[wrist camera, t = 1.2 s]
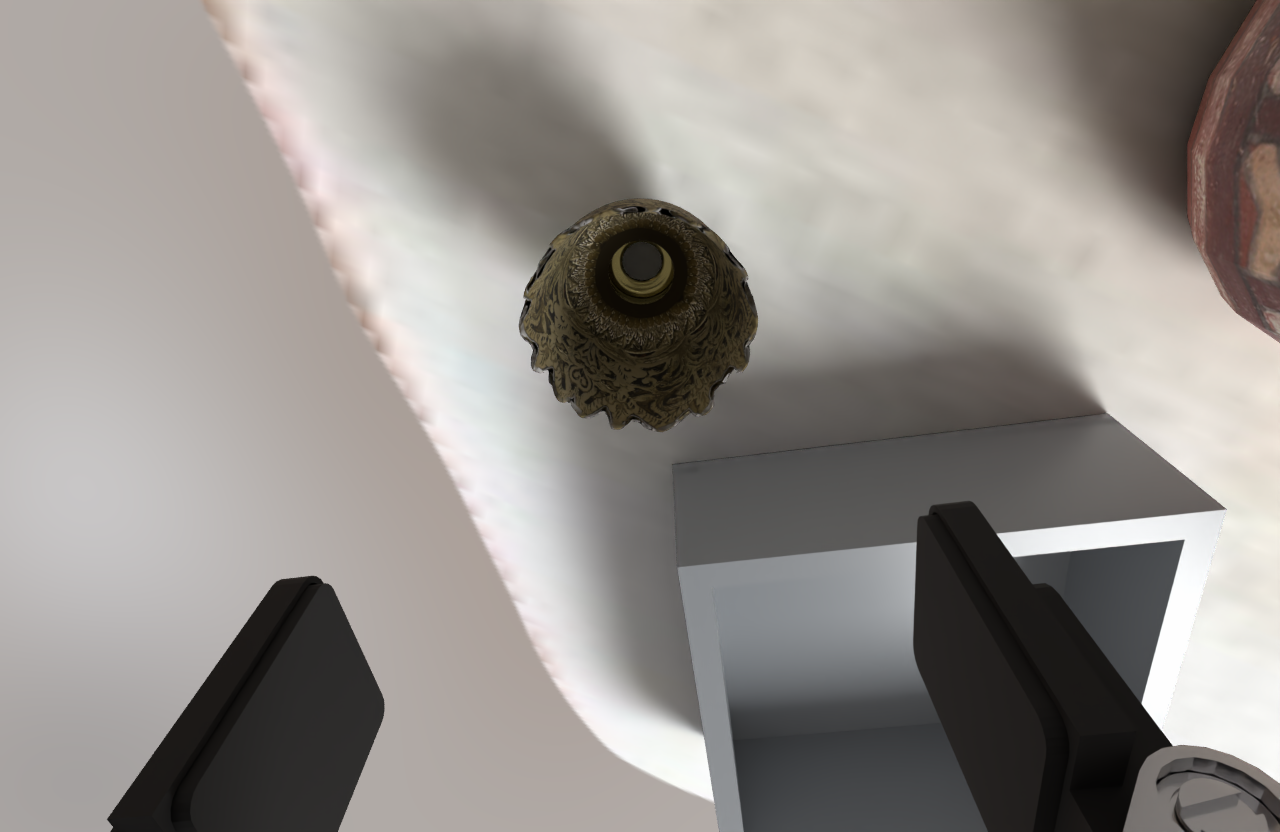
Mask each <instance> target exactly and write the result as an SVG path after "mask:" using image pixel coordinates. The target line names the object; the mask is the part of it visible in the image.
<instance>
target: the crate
mask: <svg viewBox="0 0 1280 832" xmlns="http://www.w3.org/2000/svg"><path fill="white" fill-rule="evenodd" d="M673 486H674V508H675V530H676V551H677V569H678V575H679V582H680V588H681V594H682V601H683V607H684V613H685V620H686V626H687V632H688V638H689V645H690V651H691V657H692V664H693V670H694V676H695V683H696V689H697V695H698V702H699V708H700V714H701V720H702V727H703V733H704V739H705V746H706V752H707V758H708V765H709V771H710V777H711V784H712V790H713V796H714V802H715V809H716V815H717V821H718V828H719V832H988V831H987V828H986V826H985V824H984V821H983V819H982V817H981V814H980V812H979V810H978V807H977V805H976V803H975V800H974V798H973V796H972V793H971V791H970V789H969V787H968V784H967V782H966V780H965V777H964V775H963V773H962V770H961V768H960V766H959V763H958V761H957V759H956V756H955V754H954V752H953V749H952V747H951V745H950V742H949V740H948V738H947V735H946V733H945V731H944V728H943V726H942V724H941V721H940V719H939V717H938V714H937V712H936V710H935V707H934V705H933V703H932V700H931V698H930V696H929V693H928V691H927V689H926V686H925V684H924V682H923V679H922V677H921V675H920V672H919V670H918V667H917V664H916V661H915V656H914V650H913V629H914V600H915V572H916V544H917V522H918V518H919V517H920V516H925V515H929V509H930V507H931V506H932V505H936V504H945V503H953V502H962V501H972V502H973V503H974V504H975V505H976V506H977V507H978V509H979V510H980V511H981V513H982V514H983V516H984V517H985V518H986V520H987V521H988V523H989V524H990V525H991V527H992V528H993V530H994V531H995V532H996V534H997V535H998V537H999V538H1000V539H1001V541H1002V542H1003V544H1004V545H1005V547H1006V548H1007V549H1008V551H1009V552H1010V554H1011V555H1012V556H1013V558H1014V559H1015V561H1016V562H1017V563H1018V565H1019V566H1020V568H1021V569H1022V570H1023V572H1024V573H1025V575H1026V576H1027V577H1028V579H1029V580H1030V582H1031V583H1032V584H1040V583H1046V584H1048V585H1050V586H1052V587H1053V588H1054V589H1055V590H1056V591H1057V592H1058V593H1059V594H1060V596H1061V597H1062V598H1063V600H1064V601H1065V602H1066V604H1067V605H1068V606H1069V608H1070V609H1071V610H1072V612H1073V613H1074V614H1075V616H1076V617H1077V618H1078V620H1079V621H1080V622H1081V624H1082V625H1083V626H1084V628H1085V629H1086V630H1087V632H1088V633H1089V634H1090V636H1091V637H1092V639H1093V640H1094V641H1095V643H1096V644H1097V645H1098V647H1099V648H1100V649H1101V651H1102V652H1103V653H1104V655H1105V656H1106V657H1107V659H1108V660H1109V661H1110V663H1111V664H1112V665H1113V667H1114V668H1115V669H1116V671H1117V672H1118V673H1119V675H1120V676H1121V677H1122V679H1123V680H1124V681H1125V683H1126V684H1127V685H1128V687H1129V688H1130V689H1131V691H1132V692H1133V693H1134V695H1135V696H1136V697H1137V699H1138V700H1139V701H1140V703H1141V704H1142V705H1143V707H1144V708H1145V709H1146V711H1147V712H1148V713H1149V715H1150V716H1151V717H1152V719H1153V720H1154V721H1155V723H1156V724H1157V725H1158V727H1159V728H1160V730H1161V731H1162V730H1163V727H1164V723H1165V720H1166V717H1167V713H1168V710H1169V706H1170V703H1171V699H1172V696H1173V693H1174V689H1175V686H1176V682H1177V679H1178V675H1179V672H1180V669H1181V665H1182V662H1183V658H1184V655H1185V651H1186V648H1187V645H1188V641H1189V638H1190V634H1191V631H1192V627H1193V624H1194V621H1195V617H1196V614H1197V610H1198V607H1199V603H1200V600H1201V597H1202V593H1203V590H1204V586H1205V583H1206V579H1207V576H1208V573H1209V569H1210V566H1211V562H1212V559H1213V555H1214V552H1215V549H1216V545H1217V542H1218V538H1219V535H1220V531H1221V528H1222V525H1223V521H1224V518H1225V514H1226V511H1227V509H1226V508H1224V507H1223V506H1222V505H1221V504H1220V503H1218V502H1217V501H1216V500H1215V499H1213V498H1212V497H1211V496H1210V495H1208V494H1207V493H1206V492H1205V491H1203V490H1202V489H1201V488H1200V487H1198V486H1197V485H1196V484H1195V483H1193V482H1192V481H1191V480H1190V479H1189V478H1187V477H1186V476H1185V475H1184V474H1182V473H1181V472H1180V471H1179V470H1177V469H1176V468H1175V467H1174V466H1172V465H1171V464H1170V463H1169V462H1167V461H1166V460H1165V459H1164V458H1162V457H1161V456H1160V455H1159V454H1158V453H1156V452H1155V451H1154V450H1153V449H1151V448H1150V447H1149V446H1148V445H1146V444H1145V443H1144V442H1143V441H1141V440H1140V439H1139V438H1138V437H1136V436H1135V435H1134V434H1133V433H1131V432H1130V431H1129V430H1128V429H1127V428H1125V427H1124V426H1123V425H1122V424H1120V423H1119V422H1118V421H1117V420H1115V419H1114V418H1113V417H1112V416H1110V415H1109V414H1108V413H1106V414H1098V415H1090V416H1081V417H1073V418H1064V419H1056V420H1047V421H1039V422H1030V423H1022V424H1013V425H1005V426H996V427H988V428H979V429H971V430H962V431H954V432H945V433H937V434H928V435H920V436H911V437H903V438H894V439H886V440H877V441H869V442H860V443H852V444H843V445H835V446H826V447H818V448H809V449H801V450H792V451H784V452H775V453H767V454H758V455H750V456H742V457H733V458H725V459H716V460H708V461H699V462H691V463H682V464H674V465H673Z"/></svg>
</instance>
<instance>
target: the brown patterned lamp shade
mask: <svg viewBox="0 0 1280 832" xmlns="http://www.w3.org/2000/svg"><path fill="white" fill-rule="evenodd" d="M638 242H646V243H649V244H651V245H653V246H654V247H656V248H657V250H658V251H659V253H660V255H661V259H662V265H661V268H660V271H659V272H658V274H657V275H656V276H655V277H653V278H652V279H650V280H647V281H638V280H635V279H632V278H631V277H629V276H628V275H627V273H626V272H625V270H624V268H623V264H622V259H623V255H624V252H625V251H626V249H627V248H628V247H629V246H631V245H632V244H634V243H638ZM549 247H550V248H549V249H548V251H547V252H546V254H545V255H544V257H543V258H542V259H541V260H540V262H539V264H538V268H537V270H536V272H535V274H534V275H533V276H532V277H531V279H530V281H529V283H528V284H527V286H526V289H525V291H524V299H526V301H525V304H524V307H523V310H522V313H521V317H520V320H519V330H520V335H521V336H522V338H523V339H524V340H525V341H526V342H529V344H530V345H531V347H532V348H533V353H532V356H531V367H532V369H533V371H535V372H538V373H542V372H543V371H546V370H548V371H549V383H550V384H551V385H552V388H553V391H554V394H555V396H556V398H557V400H558V401H560V402H562V403H565V402H568V403H570V401H571V405H572V407H573V409H574V410H575V411H576V413H577V414H578V415H579V416H580V417H581V418H591V417H594V416H596V415H598V414H600V413H601V412H602V411H605V412H606V413H605V414H606V415H607V416H608V419H609V423H610V426H611V428H612V429H616V430H618V429H622V428H623V427H625V425H627V424H628V423H629V422H630V420H632V421H634V422H639V423H640V424H642V425H643V426H644V427H645V428H647V429H650V430H653V431H657V432H664V431H667V430H669V429H671V428H672V427H674V426H676V425H677V424H678V423H680V422H681V421H682V420H683V419H684V418H685V417H686V416H688V415H689V414H691V413H692V414H693V415H694V416H703V415H706V414H707V413H708V412H709V411H710V410H711V409H712V408H713V406H714V401H713V400H714V391H715V390H716V389H717V388H718V387H719V386H720V385H721V384H724V383H726V382H727V379H728V377H729V375H730V373H731V372H732V371H733V370H734V369H735V370H738V371H737V373H739V372H740V373H742V372H743V371H744V369H745V368H746V367H747V365H748V362H749V357H750V349H749V345H750V343H751V342H752V341H753V339H754V337H755V335H756V331H757V326H758V316H757V310H756V306H755V303H754V299H753V296H752V294H751V292H750V289H749V287H748V284H747V281H746V280H747V279H748V275H747V273H746V270H745V269H744V267H743V266H742V264H741V263H740V262H739V261H738V260H737V259H736V258H735V257H734V256H733V254H732V253H731V252H730V249H729V248H728V246H727V245H726V244H725V243H724V241H723V240H722V239H721V238H720V237H719V236H718V235H717V234H716V233H715V232H713V231H712V230H711V229H710V228H708V227H707V226H706V225H705V224H704V223H703V222H702V221H701V220H699V219H698V218H696V217H695V216H694V215H692V214H691V213H689V212H687V211H686V210H684V209H682V208H680V207H678V206H675V205H673V204H670V203H667V202H663V201H659V200H653V199H627V200H622V201H617V202H613V203H610V204H607V205H605V206H603V207H600V208H598V209H596V210H594V211H593V212H591V213H589V214H588V215H586V216H584V217H583V218H582V219H580V220H579V221H578V222H576V223H575V224H574V225H573V226H571V227H570V228H568V229H567V230H565V231H563V232H562V233H561V234H559V235H558V236H557V237H556V238H555V239H554V240H553V241H552V242H551V243H550V245H549ZM543 373H544V372H543Z"/></svg>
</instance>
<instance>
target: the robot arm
mask: <svg viewBox="0 0 1280 832" xmlns="http://www.w3.org/2000/svg"><path fill="white" fill-rule="evenodd" d="M913 650H914V656H915V661H916V664H917V667H918V670H919V672H920V675H921V677H922V679H923V682H924V684H925V686H926V689H927V691H928V693H929V696H930V698H931V700H932V703H933V705H934V707H935V710H936V712H937V714H938V717H939V719H940V721H941V724H942V726H943V728H944V731H945V733H946V735H947V738H948V740H949V742H950V745H951V747H952V749H953V752H954V754H955V756H956V759H957V761H958V763H959V766H960V768H961V770H962V773H963V775H964V777H965V780H966V782H967V784H968V787H969V789H970V791H971V793H972V796H973V798H974V800H975V803H976V805H977V807H978V810H979V812H980V814H981V817H982V819H983V821H984V824H985V826H986V828H987V831H988V832H1280V783H1278V782H1277V781H1275V780H1274V779H1273V778H1271V777H1270V776H1268V775H1267V774H1266V773H1264V772H1263V771H1261V770H1260V769H1259V768H1257V767H1255V766H1253V765H1251V764H1249V763H1247V762H1245V761H1243V760H1241V759H1239V758H1237V757H1235V756H1233V755H1230V754H1227V753H1223V752H1220V751H1217V750H1213V749H1210V748H1207V747H1198V746H1188V745H1178V746H1172V744H1171V743H1170V742H1169V740H1168V739H1167V738H1166V736H1165V735H1164V734H1163V732H1162V731H1161V730H1160V728H1159V727H1158V725H1157V724H1156V723H1155V721H1154V720H1153V719H1152V717H1151V716H1150V715H1149V713H1148V712H1147V711H1146V709H1145V708H1144V707H1143V705H1142V704H1141V703H1140V701H1139V700H1138V699H1137V697H1136V696H1135V695H1134V693H1133V692H1132V691H1131V689H1130V688H1129V687H1128V685H1127V684H1126V683H1125V681H1124V680H1123V679H1122V677H1121V676H1120V675H1119V673H1118V672H1117V671H1116V669H1115V668H1114V667H1113V665H1112V664H1111V663H1110V661H1109V660H1108V659H1107V657H1106V656H1105V655H1104V653H1103V652H1102V651H1101V649H1100V648H1099V647H1098V645H1097V644H1096V643H1095V641H1094V640H1093V639H1092V637H1091V636H1090V634H1089V633H1088V632H1087V630H1086V629H1085V628H1084V626H1083V625H1082V624H1081V622H1080V621H1079V620H1078V618H1077V617H1076V616H1075V614H1074V613H1073V612H1072V610H1071V609H1070V608H1069V606H1068V605H1067V604H1066V602H1065V601H1064V600H1063V598H1062V597H1061V596H1060V594H1059V593H1058V592H1057V591H1056V590H1055V589H1054V588H1053V587H1052V586H1050V585H1048V584H1046V583H1040V584H1032V583H1031V582H1030V580H1029V579H1028V577H1027V576H1026V575H1025V573H1024V572H1023V570H1022V569H1021V568H1020V566H1019V565H1018V563H1017V562H1016V561H1015V559H1014V558H1013V556H1012V555H1011V554H1010V552H1009V551H1008V549H1007V548H1006V547H1005V545H1004V544H1003V542H1002V541H1001V539H1000V538H999V537H998V535H997V534H996V532H995V531H994V530H993V528H992V527H991V525H990V524H989V523H988V521H987V520H986V518H985V517H984V516H983V514H982V513H981V511H980V510H979V509H978V507H977V506H976V505H975V504H974V503H973V502H972V501H962V502H953V503H945V504H936V505H932V506H931V507H930V509H929V515H925V516H920V517H919V518H918V522H917V544H916V572H915V600H914V629H913ZM383 716H384V699H383V696H382V693H381V691H380V689H379V687H378V685H377V682H376V680H375V678H374V676H373V674H372V672H371V669H370V667H369V665H368V663H367V661H366V659H365V656H364V655H363V652H362V650H361V648H360V646H359V643H358V642H357V639H356V637H355V635H354V633H353V630H352V629H351V626H350V624H349V622H348V620H347V617H346V615H345V613H344V611H343V609H342V607H341V605H340V602H339V600H338V598H337V596H336V594H335V591H334V589H333V588H332V586H331V585H329V584H324V583H323V582H322V580H321V579H319V578H318V577H317V576H307V577H298V578H289V579H281V580H279V581H277V582H276V583H275V584H274V585H273V586H272V587H271V589H270V590H269V591H268V593H267V594H266V596H265V597H264V598H263V600H262V601H261V603H260V604H259V606H258V607H257V608H256V610H255V611H254V613H253V614H252V615H251V617H250V618H249V620H248V621H247V623H246V624H245V625H244V627H243V628H242V629H241V631H240V632H239V634H238V635H237V637H236V638H235V640H234V641H233V642H232V644H231V645H230V646H229V648H228V649H227V651H226V652H225V653H224V655H223V656H222V658H221V659H220V660H219V662H218V663H217V665H216V666H215V668H214V669H213V671H212V672H211V673H210V675H209V676H208V677H207V679H206V680H205V682H204V683H203V685H202V686H201V687H200V689H199V690H198V692H197V693H196V694H195V696H194V698H193V699H192V700H191V702H190V703H189V704H188V706H187V707H186V709H185V710H184V711H183V713H182V714H181V716H180V717H179V718H178V720H177V721H176V723H175V724H174V725H173V727H172V728H171V730H170V731H169V733H168V734H167V735H166V737H165V738H164V740H163V741H162V742H161V744H160V745H159V747H158V748H157V749H156V751H155V752H154V754H153V755H152V757H151V758H150V759H149V761H148V762H147V764H146V765H145V766H144V768H143V769H142V771H141V772H140V774H139V775H138V776H137V778H136V779H135V781H134V782H133V783H132V785H131V786H130V788H129V789H128V790H127V792H126V793H125V795H124V796H123V797H122V799H121V800H120V802H119V803H118V805H117V806H116V807H115V809H114V810H113V812H112V813H111V814H110V816H109V817H108V819H107V820H108V821H109V822H110V824H111V825H112V826H113V829H112V830H111V832H338V830H339V827H340V825H341V822H342V819H343V817H344V815H345V812H346V810H347V807H348V805H349V802H350V800H351V797H352V795H353V792H354V790H355V787H356V785H357V782H358V780H359V777H360V775H361V772H362V770H363V767H364V765H365V762H366V760H367V757H368V755H369V752H370V750H371V747H372V745H373V743H374V740H375V737H376V735H377V732H378V730H379V728H380V725H381V722H382V719H383Z"/></svg>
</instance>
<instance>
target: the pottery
mask: <svg viewBox="0 0 1280 832" xmlns="http://www.w3.org/2000/svg"><path fill="white" fill-rule="evenodd" d="M1187 216H1188V220H1189V224H1190V228H1191V232H1192V235H1193V239H1194V242H1195V244H1196V246H1197V248H1198V250H1199V252H1200V254H1201V256H1202V258H1203V260H1204V262H1205V264H1206V266H1207V268H1208V270H1209V272H1210V274H1211V276H1212V278H1213V280H1214V282H1215V284H1216V286H1217V288H1218V290H1219V292H1220V295H1221V296H1222V298H1223V299H1224V300H1225V301H1226V302H1227V303H1228V304H1229V306H1230V307H1231V308H1232V309H1233V310H1234V311H1235V312H1236V313H1237V314H1238V315H1240V316H1241V317H1243V318H1244V319H1246V320H1247V321H1249V322H1250V323H1252V324H1253V325H1254V326H1256V327H1257V328H1259V329H1260V330H1262V331H1263V332H1265V333H1266V334H1268V335H1269V336H1271V337H1272V338H1274V339H1275V340H1276V341H1278V342H1279V343H1280V0H1257V1H1256V2H1255V4H1254V5H1253V7H1252V9H1251V10H1250V12H1249V14H1248V15H1247V17H1246V18H1245V20H1244V22H1243V23H1242V25H1241V27H1240V28H1239V30H1238V31H1237V33H1236V35H1235V36H1234V38H1233V39H1232V41H1231V43H1230V44H1229V46H1228V48H1227V49H1226V51H1225V52H1224V54H1223V56H1222V57H1221V59H1220V61H1219V62H1218V64H1217V65H1216V67H1215V69H1214V70H1213V72H1212V74H1211V75H1210V77H1209V79H1208V82H1207V85H1206V88H1205V91H1204V94H1203V97H1202V100H1201V103H1200V106H1199V110H1198V113H1197V116H1196V119H1195V122H1194V125H1193V128H1192V131H1191V134H1190V137H1189V140H1188V143H1187Z"/></svg>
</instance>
